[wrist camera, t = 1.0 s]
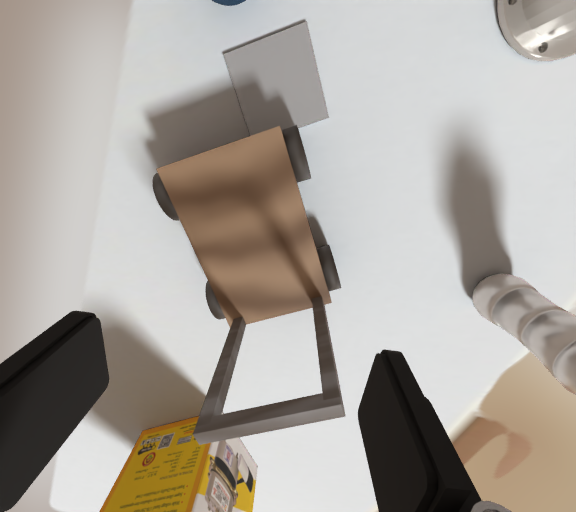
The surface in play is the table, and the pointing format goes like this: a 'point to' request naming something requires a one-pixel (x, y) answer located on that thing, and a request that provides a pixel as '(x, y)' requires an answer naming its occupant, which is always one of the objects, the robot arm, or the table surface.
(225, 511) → the packaging box
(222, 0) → the soda can
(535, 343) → the plastic bottle
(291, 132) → the trolley
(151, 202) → the table surface
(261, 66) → the mat
